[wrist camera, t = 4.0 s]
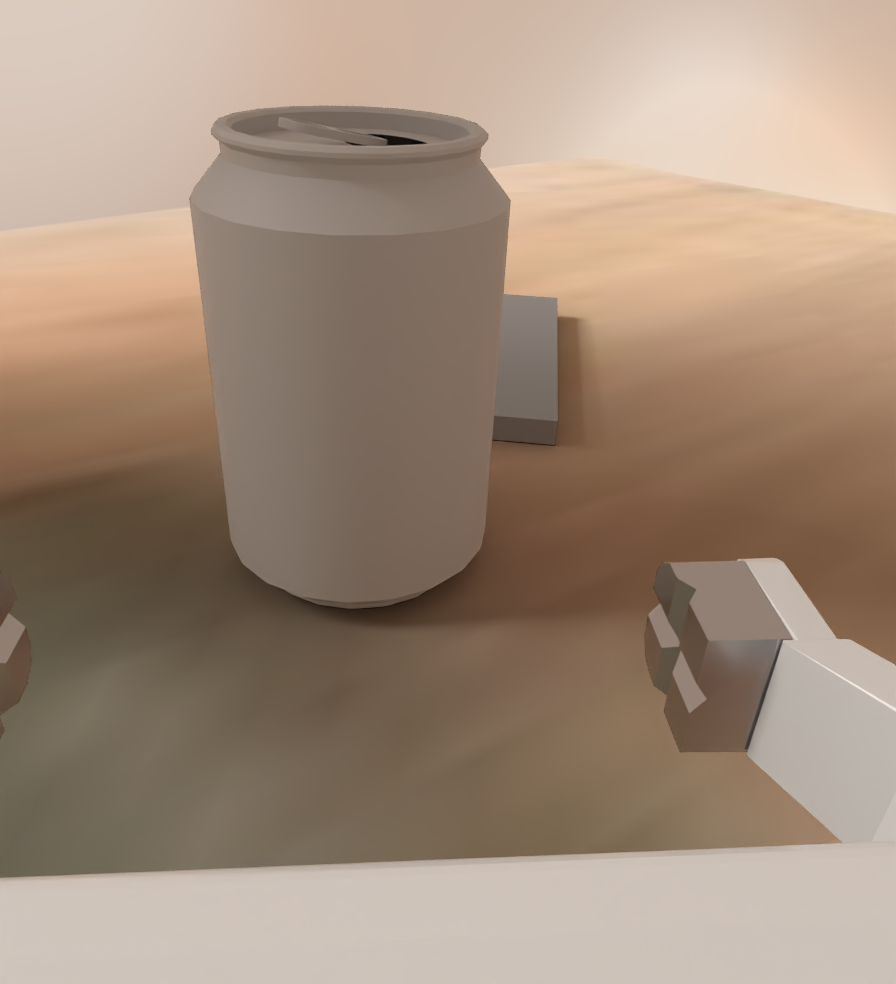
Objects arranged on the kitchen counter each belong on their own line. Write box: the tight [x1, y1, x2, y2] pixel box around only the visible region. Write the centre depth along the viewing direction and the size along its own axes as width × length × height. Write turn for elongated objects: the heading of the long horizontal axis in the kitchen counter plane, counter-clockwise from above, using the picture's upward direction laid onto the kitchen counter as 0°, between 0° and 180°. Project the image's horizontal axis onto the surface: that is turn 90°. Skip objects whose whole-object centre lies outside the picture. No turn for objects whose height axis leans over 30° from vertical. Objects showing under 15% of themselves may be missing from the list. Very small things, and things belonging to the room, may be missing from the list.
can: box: [189, 106, 511, 609], centre depth 22 cm, size 8×8×12 cm
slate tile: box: [492, 294, 558, 445], centre depth 37 cm, size 14×10×1 cm
